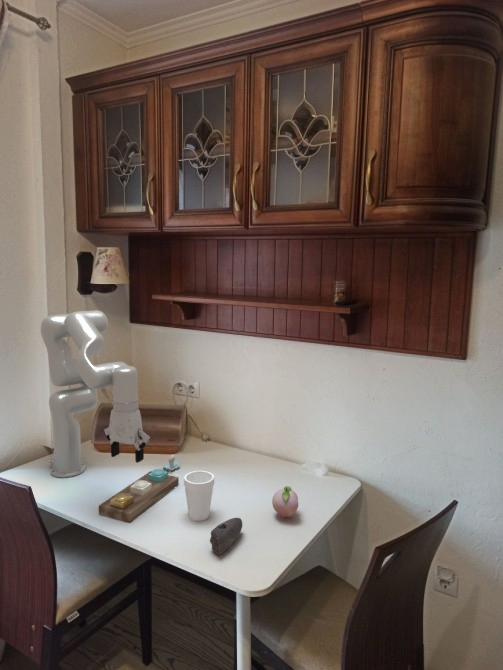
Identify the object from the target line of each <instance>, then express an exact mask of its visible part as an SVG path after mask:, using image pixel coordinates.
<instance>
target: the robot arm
mask: <svg viewBox="0 0 503 670" xmlns="http://www.w3.org/2000/svg"><path fill="white" fill-rule="evenodd" d="M108 328H109V321H108V317H107V315H106V314H105V313H104V312H103V311H102V310H99V309H95V310H78V311H74V312H73V311H72V312H71V313H61V314H60V313H59V314H53V315H48V316H46V317H45V318H43V319H42V321H41V324H40V335H41V338H42V341H43V343H44V345H45V348H46V351H47V359H48V368H49V377H50V381H51V383H52V385H53V386H54V387H59V388H60V387H67V386H72V385H73V386H74V385H80V386H78V387H73V388H68V389H63V390H58V391H55V392H54V393H52V394H51V395H50V397H49V398H48V405H49V410H50V415H51V419H52V421H51V422H52V434H53V454H54V455H51V457H50V459H48V461H47V462H48V463H49V464H52V466H51V468H50V475H51V476H53V477H56V478H70V477H71V478H72V477H77V476H79V475H81V474H83V473H84V472H85V471H86V469H87V466H86V463H84V462H82V445H81V444H82V442H81V424H80V422H79V421H78V420H77V418H75V417H74V415H76V414H79V413H83V412H88V411H91V410H94V409H95V408H96V407H97V405H98V403H99V397H98V396H99V395H98V390H100V389H104V388H105V389H106V388H109V387H110V388H111V387H112V400H111V401H110V402H111V405H112V407H113V408H112V409H111V411H110V414H109V415H110V417H109V426H108V427H106V428H104V429H103V431H104V433H105V435H106V439H107V441H108V444H109V445H110V454H111V458H115V457H117V456H119V455H120V454H121V453H120V443H121V444H125V445H130V446H132V445H133V446H134V448H135V449H136V450H135V451H134V454H135V456H134V458H135V461H134V462H135V463H140V462H142V461H144V458H145V456H144V455H145V454H144V452H145V451H144V449H145V448H146V446H148V444H149V441H150V439H151V437H150V435H148V433H146V432H145V431H143V422H142V421H143V420H142V415H141V411H140V409H139V395H138V394H139V389H138V388H139V387H138V385H139V384H138V381H139V380H138V369H137V368H136V367H135V366H132V365H128V364H127V363H125V362H124V361H113V362H107V363H99V364H93V362H92V361H91V360H90V359H91V358H93V357H94V356H96V355H97V354H99V352H100V351H102V349H103V348H104V346H105V339H104V337H103V335H102V334H104V333H105V332H106V331H107V330H108ZM65 338H72V340H73V342H74V343H75V345H76V346H77V348H78V352H77V355H76V358H75V359H74V355H73V349H72V348H73V347H72V346H71V344H70V343H69V342H68V340H66V339H65Z"/></svg>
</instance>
